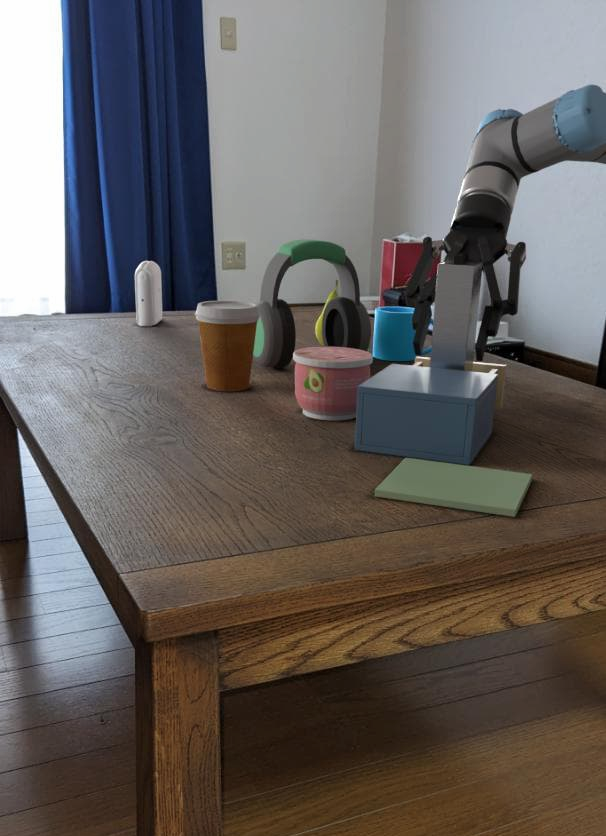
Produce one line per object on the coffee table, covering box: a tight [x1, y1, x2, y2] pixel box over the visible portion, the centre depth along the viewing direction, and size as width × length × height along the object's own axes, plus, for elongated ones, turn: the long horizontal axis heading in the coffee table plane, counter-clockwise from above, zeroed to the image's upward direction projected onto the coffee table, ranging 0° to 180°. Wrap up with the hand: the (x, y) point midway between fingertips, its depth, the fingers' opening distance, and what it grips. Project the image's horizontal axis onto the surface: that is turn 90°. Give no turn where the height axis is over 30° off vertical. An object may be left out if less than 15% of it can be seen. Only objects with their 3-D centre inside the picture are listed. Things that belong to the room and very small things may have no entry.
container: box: [292, 346, 374, 421], centre depth 119 cm, size 10×10×8 cm
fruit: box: [314, 279, 340, 347], centre depth 164 cm, size 6×6×12 cm
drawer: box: [411, 356, 508, 410], centre depth 120 cm, size 18×12×6 cm
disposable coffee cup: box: [194, 300, 260, 392], centre depth 132 cm, size 10×10×12 cm
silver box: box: [429, 253, 483, 372], centre depth 115 cm, size 4×6×19 cm
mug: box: [372, 305, 434, 362], centre depth 158 cm, size 12×8×8 cm
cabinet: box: [354, 363, 498, 466], centre depth 108 cm, size 15×14×8 cm
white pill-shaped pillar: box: [134, 260, 163, 327], centre depth 185 cm, size 10×4×12 cm, turn 178°
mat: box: [374, 457, 533, 518], centre depth 93 cm, size 14×12×1 cm
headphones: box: [253, 238, 372, 369], centre depth 147 cm, size 19×11×20 cm, turn 114°
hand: (447, 351), depth 113 cm, fingers open, 7 cm apart
